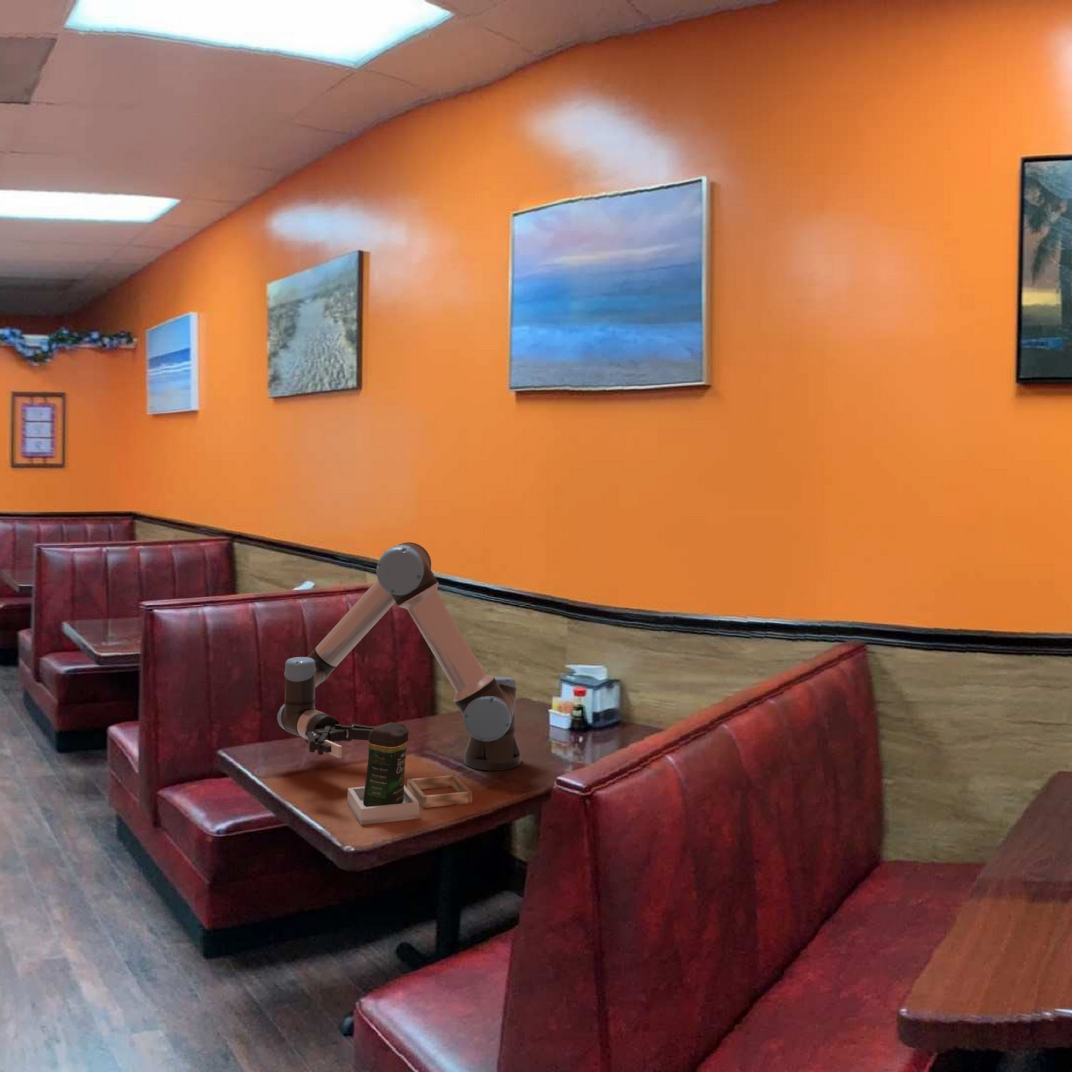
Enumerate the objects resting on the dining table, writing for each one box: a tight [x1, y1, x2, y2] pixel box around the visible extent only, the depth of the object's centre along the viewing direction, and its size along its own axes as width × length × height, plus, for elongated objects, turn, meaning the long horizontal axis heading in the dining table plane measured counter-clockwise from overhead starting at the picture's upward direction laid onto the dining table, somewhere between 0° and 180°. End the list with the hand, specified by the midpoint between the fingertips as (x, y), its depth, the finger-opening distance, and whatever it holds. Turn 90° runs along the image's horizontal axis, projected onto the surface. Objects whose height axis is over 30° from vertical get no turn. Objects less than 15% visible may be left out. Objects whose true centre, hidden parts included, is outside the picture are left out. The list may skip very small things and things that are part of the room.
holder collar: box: [406, 774, 473, 809], centre depth 241 cm, size 12×14×2 cm
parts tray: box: [347, 784, 420, 826], centre depth 230 cm, size 13×15×4 cm
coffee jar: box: [363, 721, 410, 807], centre depth 230 cm, size 10×8×19 cm
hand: (366, 747), depth 235 cm, fingers open, 13 cm apart
